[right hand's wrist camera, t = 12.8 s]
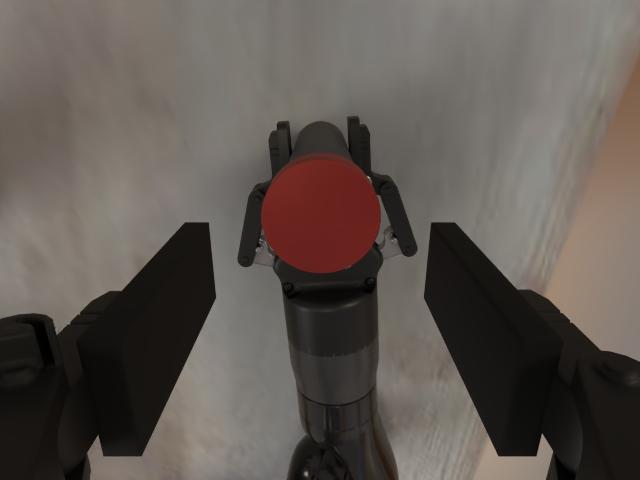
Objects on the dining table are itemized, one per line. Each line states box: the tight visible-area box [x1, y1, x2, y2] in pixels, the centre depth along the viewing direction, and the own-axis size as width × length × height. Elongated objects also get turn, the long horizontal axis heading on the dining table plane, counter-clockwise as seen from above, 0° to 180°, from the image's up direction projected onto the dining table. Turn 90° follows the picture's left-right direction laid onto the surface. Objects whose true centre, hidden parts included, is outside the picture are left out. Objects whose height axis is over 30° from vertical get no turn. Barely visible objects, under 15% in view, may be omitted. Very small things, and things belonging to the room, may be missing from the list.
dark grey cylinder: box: [288, 122, 353, 163], centre depth 27 cm, size 4×4×19 cm
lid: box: [261, 153, 381, 273], centre depth 19 cm, size 5×5×2 cm
